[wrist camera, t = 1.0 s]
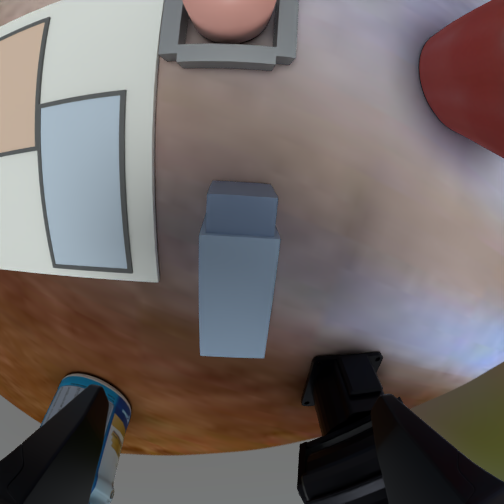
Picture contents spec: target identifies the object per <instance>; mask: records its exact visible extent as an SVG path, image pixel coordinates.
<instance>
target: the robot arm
mask: <svg viewBox="0 0 504 504" xmlns="http://www.w3.org/2000/svg"><path fill="white" fill-rule="evenodd" d="M382 359H383V356H382V354H381V353H380V352H375V353H364V354H351V355H336V356H319V357H316V358H314V359H313V361H312V365H311V368H310V372H309V375H308V379H307V382H306V386H305V389H304V393H303V396H302V399H301V403H302V405H303V406H313V405H315V408H316V412H317V417H318V421H319V425H320V429H321V433H322V437H320V438H317V439H315V440H312V441H310V442H304V443H302V444H300V451H299V464H298V482H297V489H298V491H299V495H300V496H301V498H302V500H303V502H304V504H504V482H503V481H501V480H499V479H498V478H496V477H495V476H493V475H492V474H490V473H488V472H486V471H485V470H484V469H482V468H481V467H479V466H478V465H476V464H475V463H473V462H472V461H471V460H470V459H468V458H467V457H466V456H465V455H463V454H462V453H461V452H460V451H458V450H457V449H456V448H455V447H454V446H452V445H451V444H450V443H449V442H448V441H446V440H445V439H444V438H443V437H442V436H440V435H439V434H438V433H437V432H436V431H434V430H433V429H432V428H431V427H430V426H429V425H427V424H426V423H425V422H424V421H423V420H421V419H420V418H419V417H418V416H417V415H416V414H414V413H413V412H412V411H411V410H410V409H409V408H407V407H406V406H405V405H404V404H403V402H402V400H401V398H400V397H398V398H396V397H394V396H393V395H392V394H384V393H383V390H382V389H383V387H382V385H381V383H380V381H379V379H378V376H377V374H376V372H377V370H378V368H379V366H380V363H381V361H382ZM318 362H319V363H318ZM108 410H109V401H108V398H107V396H106V393H105V391H104V388H103V387H102V386H99V385H95V384H91V385H89V386H88V387H86V388H85V389H84V390H83V391H82V392H81V393H79V394H78V395H77V396H76V397H75V398H74V399H72V400H71V401H70V402H69V403H68V404H67V405H66V406H64V407H63V408H62V409H61V410H60V411H59V412H57V413H56V414H55V415H54V416H53V417H52V418H50V419H49V420H48V421H47V422H46V423H45V424H44V425H42V426H41V427H40V428H39V429H38V430H37V431H35V432H34V433H33V434H32V435H31V436H30V437H29V438H27V440H25V441H24V442H23V443H22V444H21V445H19V446H18V447H17V448H16V449H15V450H14V451H12V452H11V453H10V454H9V455H7V456H6V457H5V458H3V459H2V460H1V461H0V504H89V499H90V495H91V490H92V486H93V482H94V478H95V473H96V469H97V466H98V462H99V458H100V454H101V450H102V446H103V441H104V434H105V428H106V421H107V415H108Z"/></svg>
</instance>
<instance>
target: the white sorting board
mask: <svg viewBox="0 0 504 504" xmlns="http://www.w3.org/2000/svg"><path fill="white" fill-rule="evenodd" d="M164 4H165V0H62V1H59V2H56V3H54V4H51V5H48V6H46V7H43V8H40V9H38V10H36V11H33V12H31V13H28V14H26V15H24V16H22V17H20V18H17V19H15V20H13V21H11V22H9V23H7V24H5V25H3V26H1V27H0V269H5V270H14V271H23V272H32V273H42V274H53V275H63V276H74V277H86V278H99V279H112V280H126V281H141V282H157V283H158V282H159V279H160V277H159V265H158V252H157V237H156V217H155V184H154V140H155V108H156V90H157V75H158V63H159V54H158V52H159V42H160V34H161V25H162V18H163V11H164Z"/></svg>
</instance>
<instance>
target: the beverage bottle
mask: <svg viewBox="0 0 504 504" xmlns="http://www.w3.org/2000/svg"><path fill="white" fill-rule="evenodd" d="M91 384H95V385H99V386H102V387H103V388H104V391H105V393H106V396H107V398H108V401H109V410H108V415H107V421H106V428H105V434H104V441H103V446H102V450H101V454H100V458H99V462H98V466H97V469H96V473H95V478H94V482H93V486H92V490H91V495H90V499H89V504H110V503H111V501H112V499H113V496H114V487H113V484H114V479H115V475H116V470H117V465H118V461H119V456H120V452H121V448H122V444H123V440H124V436H125V432H126V429H127V426H128V424H129V421H130V417H131V408H130V405H129V403H128V401H127V400H126V398H125V397H124V396H123V395H122V394H121V393H120V392H119V391H118V390H117V389H115V388H114V387H113V386H111V385H110V384H108V383H106V382H104V381H102V380H100V379H98V378H96V377H93V376H90V375H86V374H78V373H76V374H70V375H67V376H66V377H64V378H63V379H62V381H61V383H60V385H59V387H58V390H57V392H56V394H55V396H54V398H53V400H52V402H51V405H50V407H49V409H48V411H47V413H46V415H45V417H44V419H43V421H42V424H41V426H42V425H44V424H45V423H46V422H47V421H48V420H49V419H50V418H52V417H53V416H54V415H55V414H56V413H57V412H59V411H60V410H61V409H62V408H63V407H64V406H66V405H67V404H68V403H69V402H70V401H71V400H72V399H74V398H75V397H76V396H77V395H78V394H79V393H81V392H82V391H83V390H84V389H85V388H86V387H88V386H89V385H91ZM41 426H40V427H41Z"/></svg>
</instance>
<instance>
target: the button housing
mask: <svg viewBox="0 0 504 504" xmlns="http://www.w3.org/2000/svg"><path fill="white" fill-rule="evenodd" d="M298 8H299V0H277V1H276V9H275V24H274V39H273V47H270V46H258V45H242V44H185V42H186V32H187V24H188V15H189V14H188V12H187V10H186V8H185V6H184V4H183V1H182V0H165V4H164V11H163V18H162V25H161V34H160V42H159V52H158V54H159V55H160V56H161V57H162V58H163V59H165V60H166V61H176V62H177V63H178V64H179V65H180V66H181V67H182V68H235V69H253V70H266V71H272V69H273V68H274V66H275V65H276V64H285V65H290V64H291V63H292V61H293V60H294V59H295V58H296V45H297V27H298Z"/></svg>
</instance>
